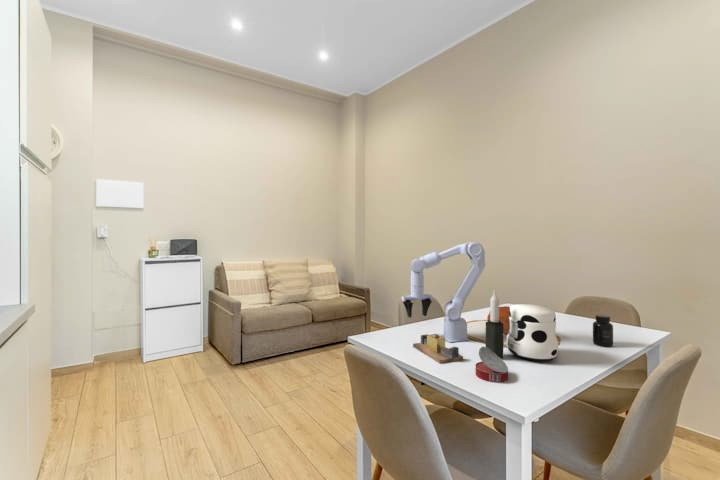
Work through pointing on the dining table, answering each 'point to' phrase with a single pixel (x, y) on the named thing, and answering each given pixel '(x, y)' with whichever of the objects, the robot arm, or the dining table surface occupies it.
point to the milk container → (532, 332)
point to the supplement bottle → (603, 331)
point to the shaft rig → (439, 357)
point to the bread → (503, 317)
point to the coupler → (435, 342)
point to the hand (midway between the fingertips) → (417, 316)
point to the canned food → (491, 367)
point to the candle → (494, 328)
